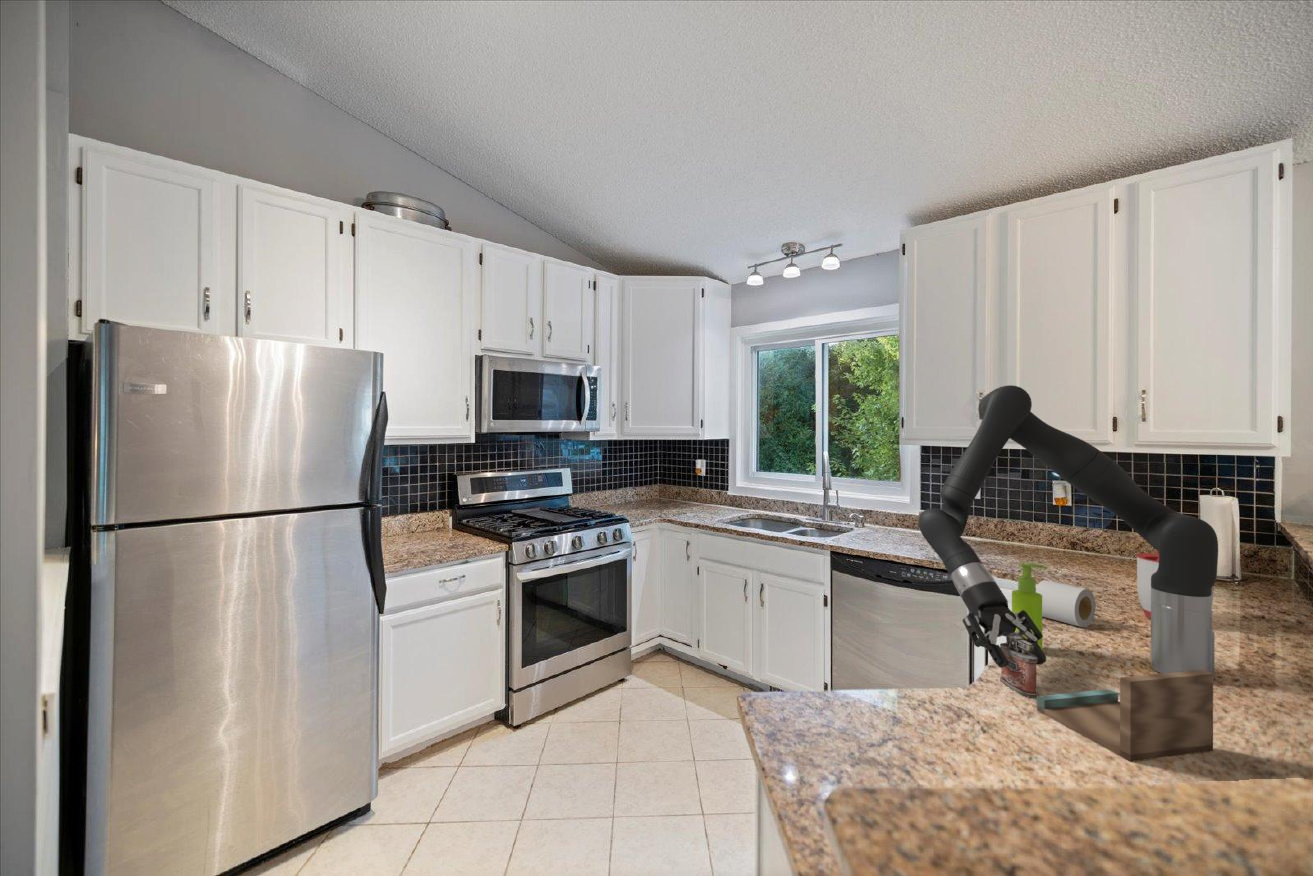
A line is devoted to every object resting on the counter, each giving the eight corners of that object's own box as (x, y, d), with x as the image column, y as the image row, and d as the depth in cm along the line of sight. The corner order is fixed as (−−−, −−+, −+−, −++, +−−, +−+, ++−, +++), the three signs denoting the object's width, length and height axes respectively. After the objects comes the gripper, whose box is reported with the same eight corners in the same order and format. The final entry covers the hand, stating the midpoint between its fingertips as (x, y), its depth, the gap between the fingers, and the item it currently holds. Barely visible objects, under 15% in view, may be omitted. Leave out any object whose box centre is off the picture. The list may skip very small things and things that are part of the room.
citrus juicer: (1153, 628, 143) (1153, 551, 143) (1125, 609, 159) (1125, 540, 159) (1232, 636, 137) (1232, 556, 137) (1195, 616, 153) (1195, 544, 154)
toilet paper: (1095, 624, 146) (1095, 587, 146) (1074, 630, 141) (1074, 591, 141) (1054, 614, 155) (1054, 578, 155) (1033, 618, 150) (1033, 582, 150)
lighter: (995, 680, 111) (995, 630, 111) (1011, 679, 111) (1011, 630, 111) (1025, 699, 103) (1025, 645, 103) (1042, 698, 103) (1042, 645, 103)
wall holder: (1109, 702, 101) (1109, 637, 101) (1213, 750, 86) (1213, 673, 86) (1036, 710, 98) (1037, 643, 98) (1130, 761, 82) (1130, 681, 82)
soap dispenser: (1052, 656, 124) (1052, 567, 124) (1018, 653, 125) (1018, 565, 125) (1039, 646, 129) (1039, 561, 129) (1007, 644, 131) (1007, 560, 131)
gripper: (958, 581, 113) (1003, 658, 101) (1016, 578, 116) (1067, 653, 104) (939, 599, 118) (981, 675, 107) (996, 596, 121) (1042, 670, 109)
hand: (1023, 664), depth 105 cm, fingers open, 8 cm apart
